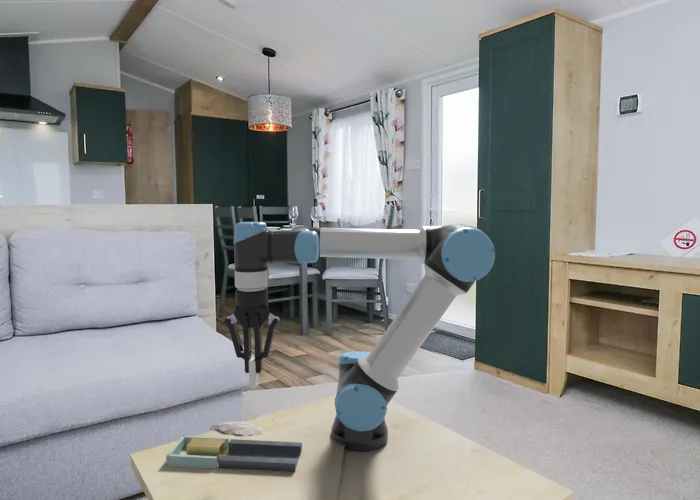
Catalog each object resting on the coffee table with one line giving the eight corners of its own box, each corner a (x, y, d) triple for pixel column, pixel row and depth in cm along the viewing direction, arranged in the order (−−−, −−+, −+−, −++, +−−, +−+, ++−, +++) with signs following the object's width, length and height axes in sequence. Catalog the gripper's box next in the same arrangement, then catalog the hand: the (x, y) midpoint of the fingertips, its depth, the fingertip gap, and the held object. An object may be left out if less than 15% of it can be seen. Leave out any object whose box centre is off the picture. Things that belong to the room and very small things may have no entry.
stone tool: (204, 438, 133) (260, 444, 132) (204, 427, 132) (260, 433, 132) (214, 423, 141) (267, 428, 140) (214, 412, 140) (267, 418, 140)
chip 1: (208, 454, 124) (208, 438, 123) (203, 462, 120) (202, 446, 119) (192, 453, 124) (192, 438, 124) (186, 461, 120) (186, 446, 120)
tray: (228, 450, 127) (228, 437, 126) (215, 472, 117) (215, 458, 116) (183, 448, 127) (182, 435, 127) (166, 469, 117) (166, 455, 117)
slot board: (301, 453, 125) (301, 442, 125) (294, 476, 116) (294, 463, 115) (230, 450, 127) (230, 439, 126) (218, 472, 117) (217, 459, 116)
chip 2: (224, 455, 124) (224, 439, 123) (219, 463, 120) (219, 447, 119) (208, 454, 124) (208, 438, 123) (203, 462, 120) (202, 446, 119)
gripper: (282, 285, 121) (283, 380, 123) (228, 285, 121) (231, 379, 124) (276, 291, 113) (277, 392, 116) (219, 291, 114) (222, 391, 116)
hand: (253, 385), depth 120 cm, fingers closed
